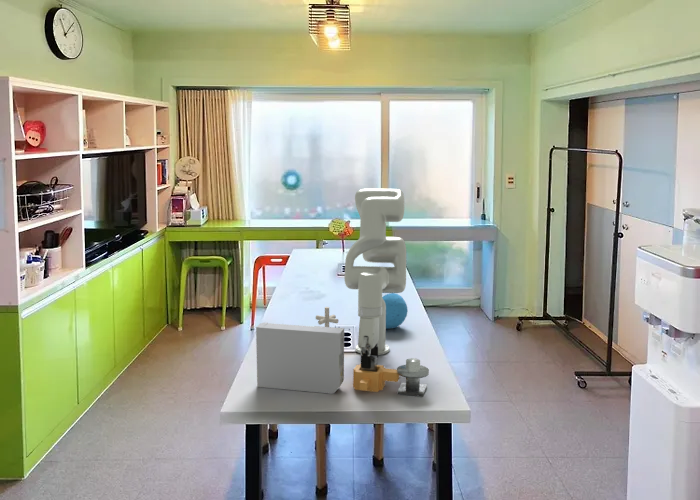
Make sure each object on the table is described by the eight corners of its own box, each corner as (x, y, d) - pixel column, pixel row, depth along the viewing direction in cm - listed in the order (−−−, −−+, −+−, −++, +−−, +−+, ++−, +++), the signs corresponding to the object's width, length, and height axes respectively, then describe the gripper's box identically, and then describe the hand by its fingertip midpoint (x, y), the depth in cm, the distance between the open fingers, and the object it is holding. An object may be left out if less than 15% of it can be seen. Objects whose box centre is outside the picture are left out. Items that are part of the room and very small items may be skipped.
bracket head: (358, 380, 228) (358, 363, 226) (400, 384, 224) (401, 367, 223) (348, 394, 216) (348, 375, 215) (393, 398, 213) (393, 380, 211)
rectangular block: (363, 384, 225) (363, 354, 223) (376, 385, 223) (377, 355, 221) (361, 387, 222) (361, 357, 220) (374, 388, 220) (374, 358, 219)
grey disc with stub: (399, 383, 225) (400, 354, 223) (430, 386, 223) (431, 356, 221) (393, 395, 216) (394, 364, 214) (425, 398, 213) (426, 367, 211)
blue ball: (390, 319, 298) (390, 285, 295) (415, 330, 282) (416, 294, 279) (358, 324, 291) (358, 289, 288) (382, 336, 275) (383, 299, 272)
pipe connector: (330, 336, 274) (330, 312, 272) (309, 332, 279) (309, 308, 277) (344, 330, 282) (344, 306, 280) (324, 326, 287) (324, 303, 285)
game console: (263, 380, 227) (262, 322, 224) (344, 387, 221) (344, 327, 218) (256, 387, 222) (255, 327, 218) (339, 394, 216) (340, 333, 212)
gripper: (364, 303, 227) (364, 353, 230) (351, 317, 211) (351, 371, 214) (387, 304, 225) (386, 355, 228) (375, 319, 209) (374, 373, 212)
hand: (369, 362), depth 221 cm, fingers open, 9 cm apart
